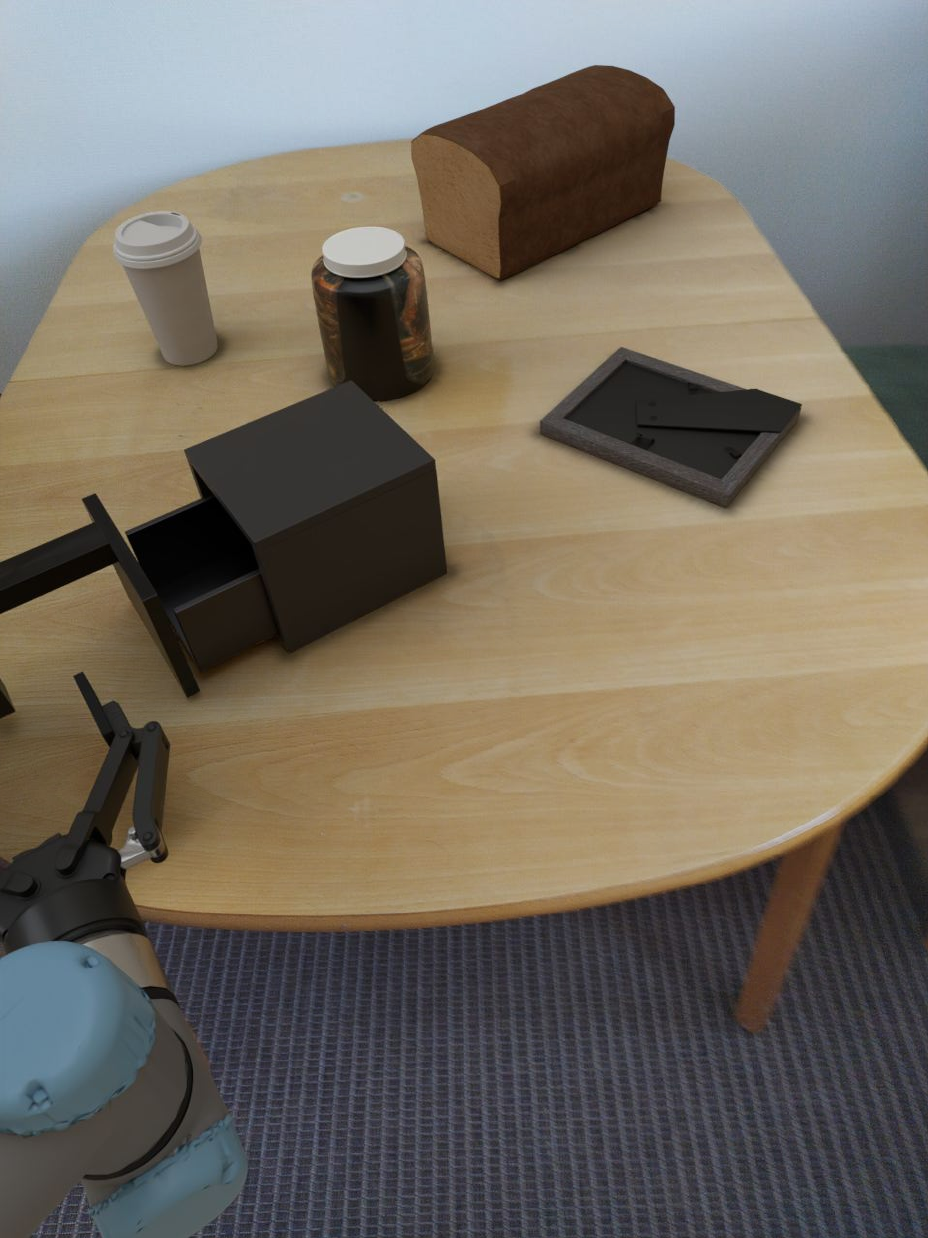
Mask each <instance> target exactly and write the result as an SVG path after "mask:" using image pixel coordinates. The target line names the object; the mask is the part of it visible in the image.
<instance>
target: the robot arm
mask: <svg viewBox="0 0 928 1238" xmlns="http://www.w3.org/2000/svg"><path fill="white" fill-rule="evenodd" d="M72 677H73V679H74V682H75V683H76V685H77V687H78V689H79V692H80V693H81V695H82V697H83V700H84V702H85V703H86V706H87V708H88V710H89V712H90V714H91V716H92V718H93V720H94V722H95V724H96V726H97V728H98V730H99V732H100V734H101V736H102V738H103V739H104V741H105V743H106V745H107V746H108V751H107V753H106V756H105V757H104V760H103V762H102V765H101V767H100V769H99V772H98V774H97V776H96V779H95V781H94V783H93V786H92V788H91V790H90V792H89V795H88V797H87V799H86V802H85V804H84V807H83V809H82V810H81V811H78V812H77V813H76V815H75V817H74V818H73V821H72V824H71V826H70V828H69V831H68V833H65V834H61V832H57V833H55V834H53V835H52V836H50V837H48V838H47V839H45V840H44V841H43V842H41V843H40V844H39V845H38V846H36V847H34V848H30V849H28V850H24V851H22V852H19V853H18V854H16V855H14V856H12V857H11V859H12V861H11V862H10V863H9V865H8V866H7V867H6V868H3V867H0V943H1V944H2V947H3V950H4V953H5V955H4V956H2V957H0V1238H31V1236H32V1235H33V1234H34V1233H35V1232H36V1231H37V1230H38V1228H39V1227H41V1225H42V1224H43V1223H44V1222H45V1221H46V1219H48V1217H49V1216H51V1214H52V1213H53V1212H54V1211H55V1210H56V1208H57V1207H58V1206H59V1205H60V1204H61V1203H62V1201H64V1199H65V1198H66V1197H67V1196H68V1195H69V1194H70V1193H71V1192H72V1190H73V1189H74V1188H75V1187H76V1186H77V1185H78V1184H79V1183H81V1185H82V1187H83V1189H84V1193H85V1195H86V1199H87V1203H88V1206H89V1207H88V1208H87V1213H88V1217H89V1218H92V1219H93V1221H94V1223H95V1225H96V1227H97V1230H98V1232H99V1234H100V1237H101V1238H190V1237H191V1236H193V1235H195V1234H196V1233H197V1232H199V1231H200V1230H201V1229H203V1228H205V1227H206V1226H207V1225H209V1224H210V1223H212V1221H214V1220H215V1219H217V1217H219V1216H220V1215H221V1214H222V1213H223V1212H224V1211H225V1210H226V1209H227V1208H228V1207H229V1206H230V1205H231V1204H232V1203H233V1202H234V1200H235V1199H236V1198H237V1197H238V1196H239V1194H240V1192H241V1191H242V1189H243V1187H244V1185H245V1183H246V1181H247V1176H248V1173H249V1172H248V1171H249V1161H248V1157H247V1155H246V1152H245V1150H244V1147H243V1145H242V1141H241V1140H240V1137H239V1134H238V1131H237V1129H236V1126H235V1124H234V1122H235V1116H234V1114H233V1112H232V1111H229V1110H228V1107H227V1106H226V1103H225V1102H224V1099H223V1097H222V1095H221V1093H220V1091H219V1089H218V1086H217V1085H216V1082H215V1080H214V1078H213V1076H212V1074H211V1071H210V1070H209V1069H210V1068H209V1067H208V1065H207V1063H206V1061H205V1059H204V1056H203V1054H202V1052H201V1050H200V1048H199V1046H198V1044H197V1041H196V1040H195V1038H194V1036H193V1035H194V1034H193V1033H192V1032H191V1029H190V1027H189V1025H188V1022H187V1021H186V1018H185V1016H184V1014H183V1012H182V1009H181V1006H180V1003H179V1001H178V999H177V997H176V995H175V993H174V990H173V988H172V986H171V983H170V981H169V979H168V975H167V973H166V971H165V969H164V967H163V965H162V963H161V960H160V958H159V956H158V954H157V951H156V949H155V947H154V945H153V942H152V941H151V940H150V939H149V938H148V931H147V928H146V926H145V923H144V921H143V919H142V917H141V914H140V912H139V910H138V908H137V906H136V903H135V902H134V899H133V896H132V895H131V893H130V891H129V888H128V886H127V883H126V882H127V881H126V878H127V877H126V876H127V870H128V869H131V868H132V867H135V866H136V865H139V864H141V863H143V862H146V861H148V860H150V861H151V862H152V863H154V864H161V863H163V862H164V861H166V860H167V858H168V856H169V849H168V846H167V843H166V840H165V837H164V834H163V823H164V822H163V821H164V812H165V803H166V792H167V785H168V774H169V773H168V772H169V764H170V754H171V742H170V741H169V738H168V737H167V735H166V733H165V731H164V729H163V727H162V725H161V723H160V722H159V721H157V720H151V721H148V722H147V723H145V724H144V726H143V727H140V728H139V727H138V728H136V727H133V726H132V725H131V723H130V721H129V719H128V717H127V716H126V714H125V712H124V710H123V709H122V707H121V705H120V703H119V702H117V701H116V700H111V701H109V702H107V703H105V704H103V705H102V703H101V701H100V699H99V697H98V695H97V693H96V691H95V690H94V688H93V686H92V684H91V683H90V681H89V679H88V678H87V676H86V674H85V672H84V671H83V670H82V671H81V672H79V673H76V674H74V675H73V676H72ZM135 775H136V780H135V781H136V782H135V790H134V797H133V804H132V822H133V825H132V826H129V828H128V829H127V831H126V832H127V834H126V836H125V844H124V845H123V846H122V847H121V848H119V849H116V848H115V847H112V846H111V845H112V843H113V837H114V836H113V831H114V828H115V825H116V822H117V820H118V817H119V816H120V813H121V810H122V807H123V805H124V802H125V800H126V798H127V795H128V793H129V791H130V788H131V786H132V783H133V780H134V778H135Z"/></svg>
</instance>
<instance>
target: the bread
mask: <svg viewBox="0 0 928 1238" xmlns="http://www.w3.org/2000/svg"><path fill="white" fill-rule="evenodd" d="M675 121H676V106H675V104H674V103H673V102H672V100H671V99H670V97H669V95H668V94H667V92H666V90H665V89H664V88H663V87H661V86H660V85H659V84H657V83H656V82H654V81H652V80H651V79H649V78H648V77H647V76H644V75H642V74H640V73H637V72H635V71H632V70H630V69H627V68H623V67H619V66H615V65H606V64H605V65H603V64H594V65H590V66H589V65H588V66H587V67H584V68H581V69H578V70H575V71H573V72H571V73H568V74H566V75H564V76H562V77H559V78H557V79H554V80H552V81H550V82H547V83H544V84H542V85H538V86H536V87H533V88H531V89H529V90H527V91H525V92H523V93H521V94H519V95H516V96H513V97H509V98H507V99H504V100H502V101H500V102H497V103H495V104H492V105H490V106H487V107H485V108H483V109H479V110H475V111H473V112H469V113H467V114H464V115H461V116H459V117H456V118H454V119H451V120H447V121H445V122H442V123H439V124H436V125H433V126H431V127H429V128H427V129H426V130H423V131H422V132H420V133H419V134H418V135H416V137H414V138H413V139H412V140H411V141H410V144H411V145H410V153H411V155H410V156H411V162H412V165H413V169H414V173H415V176H416V180H417V181H416V182H417V185H418V190H419V196H420V202H421V208H422V209H421V210H422V216H423V224H424V225H423V226H424V232H425V239H426V240H428V241H429V242H430V243H432V244H433V245H434V246H436V247H438V248H440V249H441V250H444V251H445V252H447V253H448V254H451V255H453V256H454V257H456V258H458V259H459V260H461V261H463V262H465V263H467V264H468V265H470V266H472V267H474V268H476V269H478V270H479V271H482V272H483V273H485V274H487V275H488V276H490V277H492V278H494V279H497V280H503V279H506V278H508V277H510V276H512V275H516V274H517V273H519V272H521V271H523V270H525V269H527V268H529V267H531V266H533V265H535V264H537V263H540V262H541V261H544V260H545V259H547V258H549V257H552V256H554V255H557V254H558V253H562V252H563V251H565V250H567V249H570V248H571V247H573V246H575V245H577V244H579V243H581V242H583V241H584V240H587V239H588V238H592V237H594V236H596V235H598V234H600V233H603V232H604V231H606V230H608V229H610V228H612V227H614V226H616V225H617V224H620V223H622V222H623V221H626V220H627V219H630V218H631V217H634V216H636V215H639V214H640V213H642V212H644V211H646V210H648V209H650V208H651V207H652V208H653V207H654V206H655V205H658V204H659V203H660V202H662V192H663V191H662V190H663V182H664V174H665V168H666V162H667V158H668V151H669V146H670V140H671V137H672V134H673V131H674V129H675V123H676V122H675Z"/></svg>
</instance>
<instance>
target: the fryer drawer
mask: <svg viewBox="0 0 928 1238" xmlns="http://www.w3.org/2000/svg"><path fill="white" fill-rule="evenodd" d="M81 501H82V504H83V506H84V508H85V510H86V511H87V514H88V517H89V518H90V520H91V523H88V524H86V525H84V526H81V527H79V528H77V529H74V530H72V531H70V532H67V533H65V534H63V535H61V536H58V537H56V538H53V539H51V540H48V541H46V542H44V543H42V544H40V545H37V546H35V547H32V548H30V549H27V550H25V551H23V552H20V553H18V554H16V555H14V556H11V557H9V558H7V559H5V560H2V561H0V615H2V614H4V613H7V612H8V611H11V610H13V609H16V608H18V607H20V606H23V605H24V604H27V603H29V602H31V601H34V600H36V599H38V598H41V597H43V596H45V595H47V594H49V593H51V592H54V591H56V590H58V589H60V588H63V587H65V586H68V585H70V584H71V583H74V582H76V581H79V580H81V579H83V578H85V577H88V576H90V575H92V574H94V573H97V572H99V571H101V570H103V569H105V568H107V567H110V566H113V568H114V570H115V572H116V574H117V576H118V579H119V581H120V583H121V585H122V587H123V590H124V591H125V593H126V595H127V598H128V599H129V600H130V603H131V605H132V606H133V607H134V609H135V611H136V613H137V614H138V616H139V618H140V620H141V621H142V623H143V625H144V626H145V628H146V630H147V632H148V633H149V635H150V637H151V639H152V641H153V642H154V644H155V646H156V647H157V650H158V651H159V652H160V654H161V656H162V657H163V660H164V661H165V662H166V664H167V666H168V668H169V669H170V671H171V673H172V674H173V675H172V676H174V679H175V680H176V681H177V683H178V685H179V686H180V689H181V690H182V692H183V693H184V695H185V697H186V698H187V699H189V698H191V697H193V696H195V695H196V694H198V693H200V692H201V689H200V686H199V684H198V682H197V680H196V677H195V675H194V672H193V671H192V668H191V666H190V663H189V661H188V659H187V657H186V654H185V653H184V650H183V648H182V645H181V643H182V644H183V647H184V648H185V650H186V651H187V653H188V654H189V656H190V658H191V659H192V661H193V662H194V664H195V666H196V667H197V669H198V671H199V672H200V673H203V672H205V671H207V670H209V669H211V668H213V667H215V666H217V665H219V664H221V663H222V662H225V661H227V660H229V659H231V658H233V657H235V656H237V655H239V654H240V653H241V654H242V653H243V652H245V651H247V650H249V649H251V648H253V647H256V646H257V645H259V644H261V643H262V642H265V641H267V640H269V639H271V638H273V637H274V636H276V635H277V634H279V630H278V626H277V623H276V620H275V617H274V614H273V611H272V608H271V604H270V601H269V598H268V595H267V592H266V589H265V585H264V582H263V579H262V576H261V573H260V570H259V566H258V563H257V560H256V557H255V554H254V551H253V547H252V545H251V543H250V542H249V541H248V539H247V538H246V537H245V535H244V534H243V533H242V531H241V530H240V529H239V527H238V526H237V525H236V523H235V522H234V521H233V519H232V518H231V517H230V515H229V514H228V513H227V511H226V510H225V509H224V507H223V506H222V505H221V503H220V502H219V501H218V499H217V498H216V497H215V495H214V494H213V493H212V494H210V495H208V496H205V497H203V498H201V497H200V498H198V499H196V500H194V501H192V502H189V503H187V504H185V505H183V506H180V507H178V508H176V509H173V510H171V511H169V512H167V513H164V514H162V515H160V516H157V517H154V518H152V519H150V520H148V521H146V522H143V523H141V524H139V525H136V526H134V527H131V528H130V529H127V530H126V531H124V534H125V537H126V538H127V541H128V542H126V540H125V538H124V537H123V535H122V533H121V531H120V530H119V528H118V527H117V525H116V524H115V522H114V520H113V518H112V517H111V516H110V514H109V512H108V511H107V509H106V508H105V506H104V504H103V503H102V501H101V499H100V498H99V496H98V495H97V493H92V494H90V495H87V496H84V497H82V498H81ZM128 543H129V545H130V546H129V545H128ZM130 547H131V548H130ZM131 549H132V550H131ZM179 639H180V641H179ZM180 642H181V643H180ZM15 712H16V708H15V706H14V703H13V701H12V699H11V696H10V694H9V691H8V689H7V687H6V685H5V683H4V682H3V681H2V679H1V678H0V720H1V719H4V718H5V717H8V716H10V715H12V714H13V713H15Z"/></svg>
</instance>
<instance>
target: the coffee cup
mask: <svg viewBox="0 0 928 1238" xmlns="http://www.w3.org/2000/svg"><path fill="white" fill-rule="evenodd" d="M202 243H203V238H202V235H201V234H200V232H199V230H198V229H197V228H196V226H195V225H194V224H193V223H191V222H190V220H189V218H188V217H187V216H186V215H185V214H182V213H180V212H177V211H172V210H171V211H170V210H160V211H159V210H157V211H150V212H145V213H142V214H138V215H136V216H133V217H130V218H129V219H127V220H126V221H124V222H122V223H121V224H120V225H119V226H118V227H117V228H116V229H115V232H114V241H113V247H112V251H113V259H114V260H115V261H116V262H117V263H118V264H120V265H122V268H123V271H124V272H125V274H126V277H127V279H128V281H129V283H130V285H131V288H132V290H133V292H134V294H135V296H136V299H137V301H138V302H139V305H140V307H141V310H142V312H143V314H144V316H145V320H146V321H147V323H148V325H149V327H150V330H151V332H152V334H153V337H154V339H155V341H156V343H157V345H158V348H159V350H160V352H161V354H162V357H163V359H164V360H165V361H166V362H167V363H168V364H170V365H174V366H182V367H183V366H184V367H185V366H186V367H187V366H193V365H196V364H200V363H203V362H205V361H208V360H209V359H211V358H212V357H213V356H214V355H215V354H216V353H217V351H218V348H219V343H218V337H217V334H216V328H215V323H214V318H213V313H212V307H211V303H210V297H209V292H208V287H207V282H206V276H205V272H204V266H203V261H202V254H201V250H200V247H201V246H202Z"/></svg>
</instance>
